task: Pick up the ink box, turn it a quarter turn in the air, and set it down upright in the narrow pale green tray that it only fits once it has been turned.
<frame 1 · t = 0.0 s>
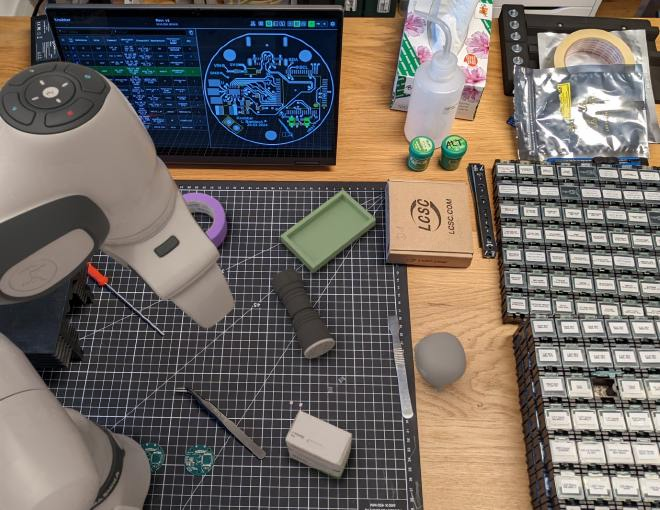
hand: (177, 272, 68), 39 cm above the table, tool pointing down, fingers open, 8 cm apart
tray: (328, 232, 116), on the table
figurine: (430, 377, 103), on the table
ink box: (319, 454, 96), on the table
flashlight: (302, 319, 108), on the table
tape roll: (196, 230, 116), on the table
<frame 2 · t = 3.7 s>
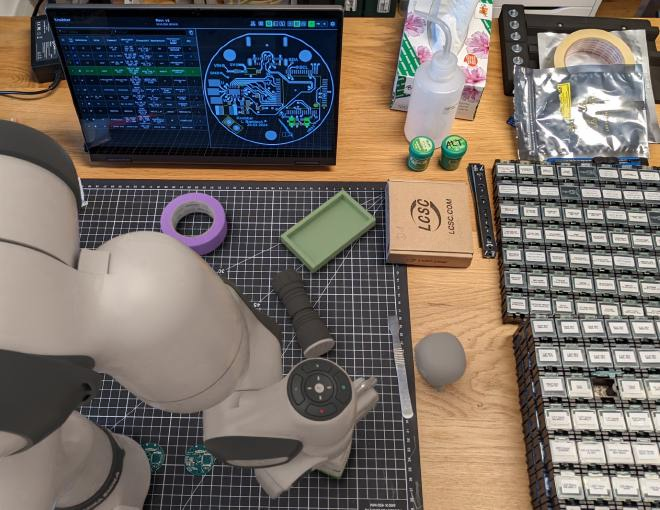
hand: (319, 448, 92), 5 cm above the table, tool pointing down, fingers closed on ink box, 6 cm apart
ink box: (319, 454, 96), on the table, touching gripper
everything else where it was.
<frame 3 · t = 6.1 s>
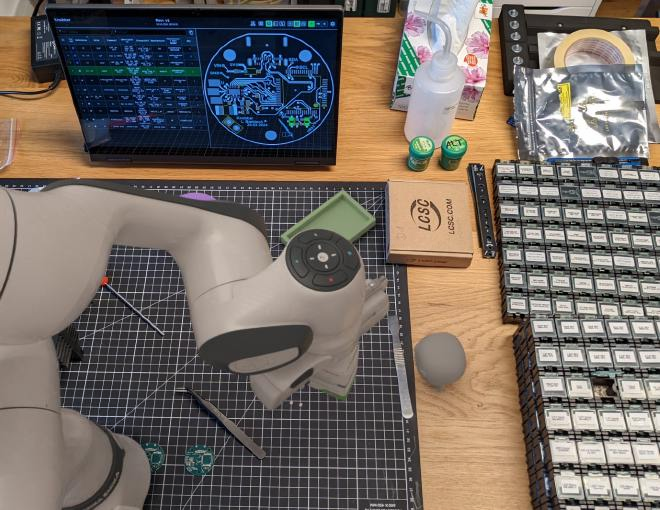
hand: (322, 364, 83), 19 cm above the table, tool pointing down, fingers closed on ink box, 6 cm apart
ink box: (323, 376, 87), point 14 cm above the table, touching gripper
everything else where it was.
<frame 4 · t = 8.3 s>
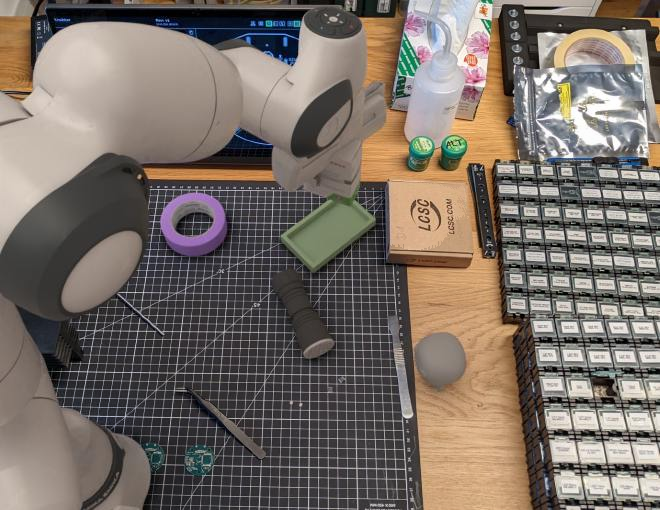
hand: (331, 171, 99), 20 cm above the table, tool pointing down, fingers closed on ink box, 6 cm apart
ink box: (331, 189, 103), point 15 cm above the table, touching gripper
everything else where it was.
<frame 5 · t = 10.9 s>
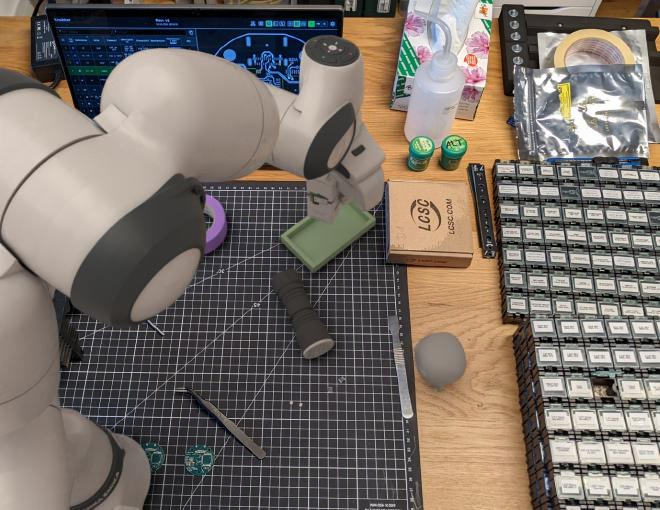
hand: (329, 187, 103), 15 cm above the table, tool pointing down, fingers closed on ink box, 6 cm apart
ink box: (329, 203, 107), point 10 cm above the table, touching gripper
everything else where it was.
when the fingers open (6 cm above the table, at t = 13.1 s): ink box drops 1 cm, resting on tray.
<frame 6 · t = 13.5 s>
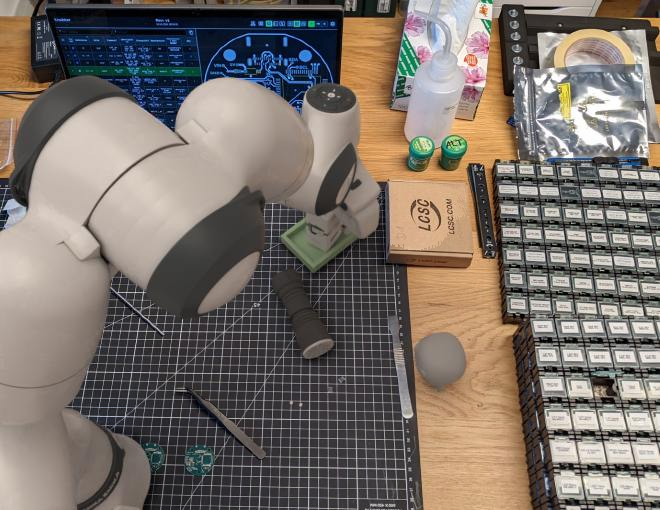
hand: (328, 214, 110), 6 cm above the table, tool pointing down, fingers open, 8 cm apart
ink box: (329, 232, 116), resting on tray
everything else where it was.
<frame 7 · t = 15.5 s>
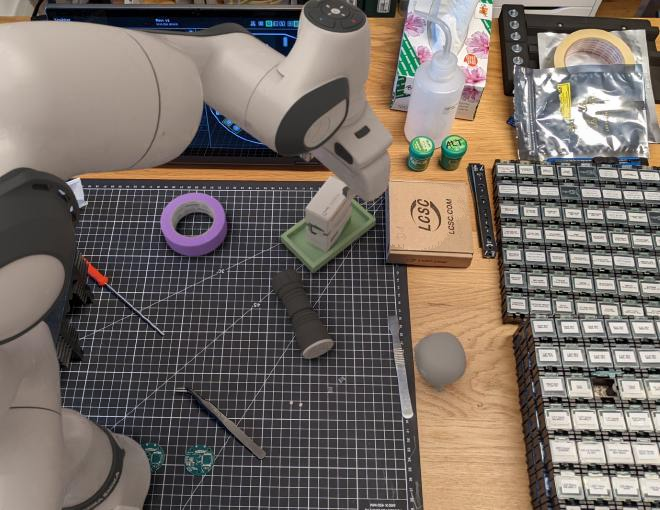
hand: (328, 175, 93), 24 cm above the table, tool pointing down, fingers open, 8 cm apart
nothing on the table moved.
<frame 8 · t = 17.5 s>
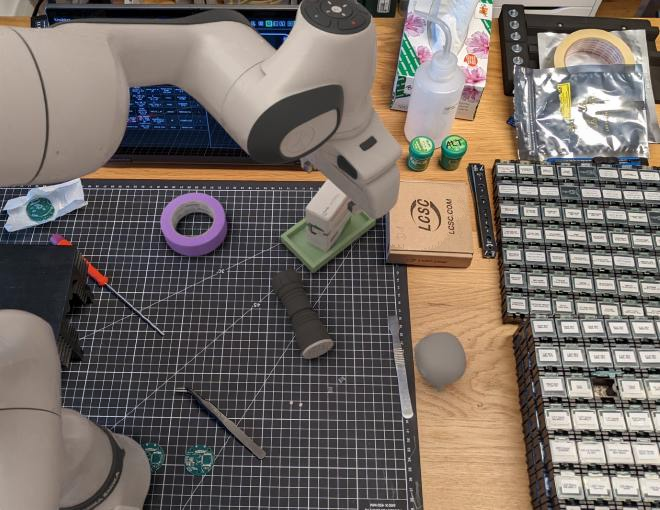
hand: (332, 188, 85), 29 cm above the table, tool pointing down, fingers open, 8 cm apart
nothing on the table moved.
at the end: ink box 0.2 cm off-centre in the tray, point 0.3 cm above the tray's base; ink box tilted 0°; the gripper is holding nothing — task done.
